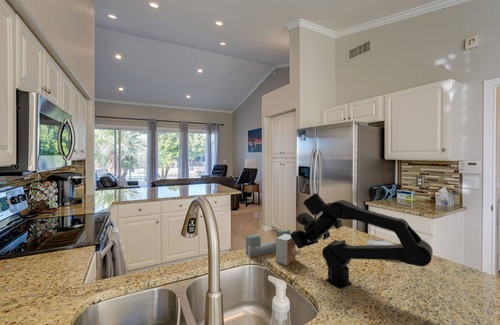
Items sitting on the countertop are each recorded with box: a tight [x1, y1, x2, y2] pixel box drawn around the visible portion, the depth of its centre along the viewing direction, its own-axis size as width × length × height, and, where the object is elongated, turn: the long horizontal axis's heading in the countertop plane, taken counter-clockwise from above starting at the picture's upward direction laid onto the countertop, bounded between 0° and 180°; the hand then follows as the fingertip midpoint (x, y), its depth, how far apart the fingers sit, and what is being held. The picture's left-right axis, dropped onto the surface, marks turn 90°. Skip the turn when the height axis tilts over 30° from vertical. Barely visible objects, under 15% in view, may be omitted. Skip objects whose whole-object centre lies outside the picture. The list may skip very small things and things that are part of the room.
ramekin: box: [366, 238, 394, 245], centre depth 112 cm, size 11×11×5 cm
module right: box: [276, 229, 292, 238], centre depth 119 cm, size 5×5×9 cm
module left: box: [245, 234, 262, 255], centre depth 110 cm, size 5×5×9 cm
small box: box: [275, 234, 296, 266], centre depth 103 cm, size 8×6×10 cm
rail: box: [247, 239, 276, 258], centre depth 113 cm, size 3×24×5 cm, turn 119°
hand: (299, 246), depth 97 cm, fingers closed
